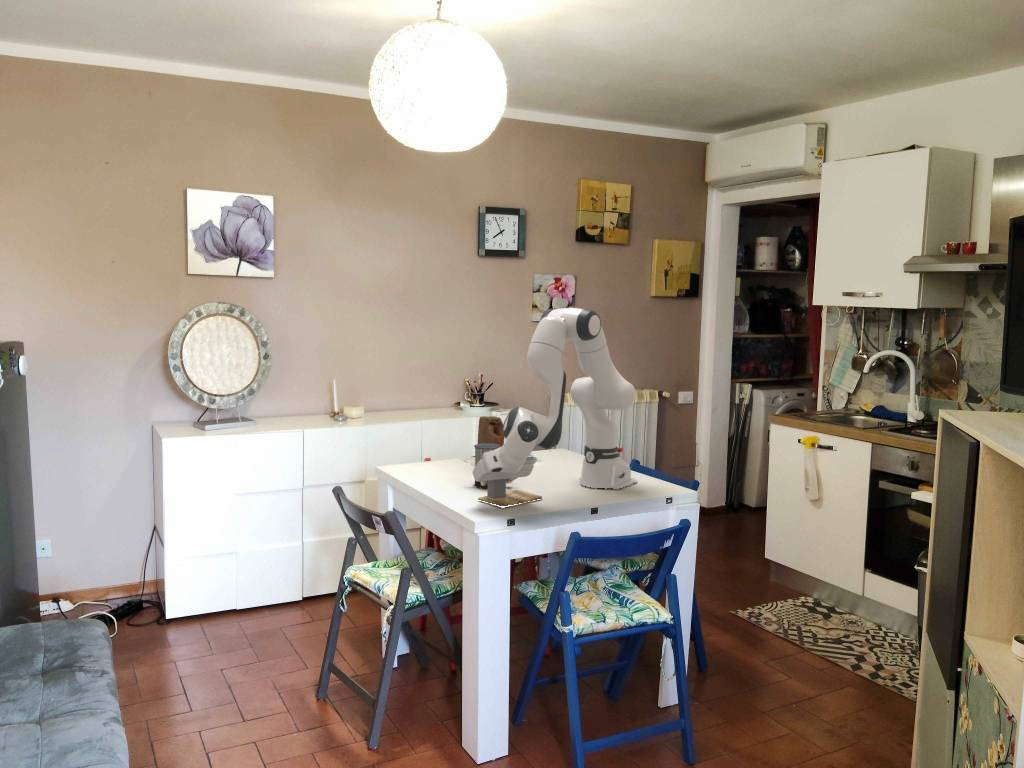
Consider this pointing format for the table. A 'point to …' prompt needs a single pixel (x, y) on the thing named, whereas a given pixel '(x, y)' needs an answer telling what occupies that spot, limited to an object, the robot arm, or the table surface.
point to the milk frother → (479, 452)
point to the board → (513, 498)
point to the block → (490, 430)
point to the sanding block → (496, 489)
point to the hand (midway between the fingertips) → (495, 482)
